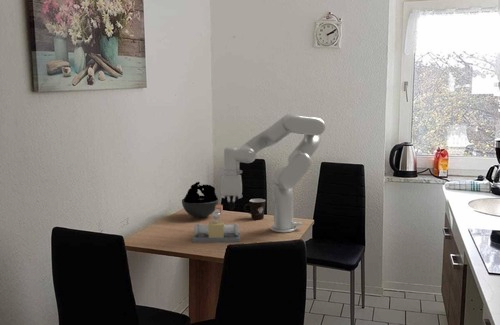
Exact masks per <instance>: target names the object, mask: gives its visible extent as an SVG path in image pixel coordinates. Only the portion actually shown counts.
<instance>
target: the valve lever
mask: <svg viewBox="0 0 500 325" xmlns="http://www.w3.org/2000/svg"><path fill="white" fill-rule="evenodd" d="M223 208H224V207H223V204H218V205H216V206H215V211H214V212H213V213H212V218H213V219H215V218H218V219H219V218H220V216H221V214H222V213H223Z"/></svg>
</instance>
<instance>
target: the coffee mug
mask: <svg viewBox="0 0 500 325" xmlns="http://www.w3.org/2000/svg"><path fill="white" fill-rule="evenodd" d="M247 206H249V208H250V211H248V210H247V209H246V208H247ZM243 208H244V211H245V212H246V213H248V214H250V215H251V216H250V217H251V220H255V221H261V220H264V217H265V208H266V199H263V198H251V199H250V200H249V203H246V204H245V205H244V207H243Z"/></svg>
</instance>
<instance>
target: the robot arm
mask: <svg viewBox="0 0 500 325" xmlns="http://www.w3.org/2000/svg"><path fill="white" fill-rule="evenodd" d="M325 129H326V123H325V121H324V120H323V119H321V118H320V117H317V116H316V117H315V116H301V115H298V114H297V115H296V114H292V113H288V114H285V115H284V116H282V117H281V118H280V119H278V120H277V121H276V122H274V123H273V124H272V125H270V126H269V127H267V128H266V129H265V130H263V131H262V132H260V133H258V134H256V135H255V136H253V137H252V138H251V139H249V140H248V141H246V142H245V143H244V144H242V145H240V147H239V148H238V147H236V146H227V147H225V148H223V174H222V177H221V184H220V185H221V186H220V198H222V199H225V200H226V201H227V204H228V206H227V207H228V209H229V211H234V209H235V206H236V204H235V202H236V201H237V200H239V199H242V198H243V194H242V193H243V180H242V174H243V170H241V169H240V163H245V164H250V163H253V162H254V161H255V160H256V158H257V153H260V152H261V151H262V150H263V149H266V148H269V147H272V146H275V145H276V144H278V143H279V142H280V141H282V140H283V139H284V138H286V137H287V136H289V135H290V134H291V133H293V134H298V135H303V137H302V140H301V141H300V142H299V144H298V145H296V147H295V148H294V150H293V151H292V152H291V153H290V154H289V155H288V158H287V165H286V166H279V167H277V168H276V169H275V170H274V171H273V174H272V185H273V225H271V226H270V230H271V231H273V232H276V233H292V232H295V231H296V230H297V227H303V222H300V221H295V220H294V193H293V192H294V191H293V188H295V187H296V185H297V184H299V182H300V181H301V180H302V179H303V178H304V177H305V175H306V174H307V173H308V171H309V170H310V168H311V165H312V159H311V157H312V156H313V155H314V153H315V152H316V151H317V150H318V148H319V146H320V143H321V138H322V134H323V133H324V132H325ZM231 197H232V199H231Z"/></svg>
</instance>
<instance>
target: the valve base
mask: <svg viewBox="0 0 500 325" xmlns="http://www.w3.org/2000/svg"><path fill="white" fill-rule="evenodd" d="M193 228H194V229H193V233H194V235H193V236H192V239H191V243H240V241H241V235H242V234H241V232H239V229H240V228H239V223H234V224H225V221H222V220H220V221H219V218H214V221H211V220H210V221H209V223H208V224H199V223H194V227H193Z"/></svg>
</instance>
